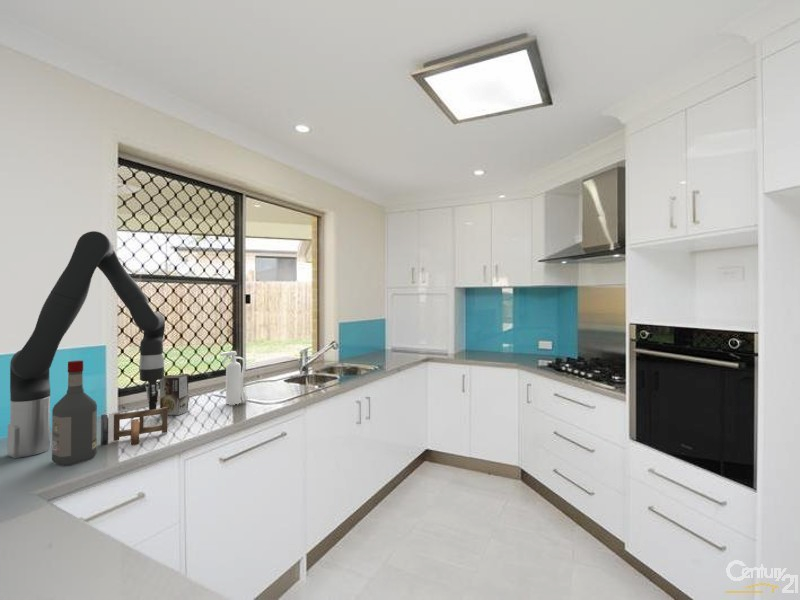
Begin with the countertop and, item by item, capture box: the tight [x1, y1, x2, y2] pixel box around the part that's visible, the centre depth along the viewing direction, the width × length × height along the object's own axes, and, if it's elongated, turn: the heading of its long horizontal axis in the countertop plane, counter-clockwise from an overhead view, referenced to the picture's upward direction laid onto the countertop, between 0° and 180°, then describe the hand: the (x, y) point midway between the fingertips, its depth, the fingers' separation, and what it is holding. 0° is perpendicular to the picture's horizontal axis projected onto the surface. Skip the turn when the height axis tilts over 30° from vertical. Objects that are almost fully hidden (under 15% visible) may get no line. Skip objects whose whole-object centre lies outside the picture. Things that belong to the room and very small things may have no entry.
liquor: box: [51, 360, 98, 467], centre depth 117 cm, size 9×9×30 cm
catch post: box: [130, 418, 140, 446], centre depth 130 cm, size 2×2×8 cm
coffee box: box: [159, 374, 189, 416], centre depth 167 cm, size 9×6×16 cm
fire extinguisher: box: [219, 350, 250, 406], centre depth 183 cm, size 7×12×25 cm, turn 108°
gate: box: [113, 407, 169, 442], centre depth 137 cm, size 16×2×9 cm, turn 124°
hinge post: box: [100, 413, 109, 446], centre depth 130 cm, size 2×2×10 cm
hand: (152, 413), depth 141 cm, fingers closed
